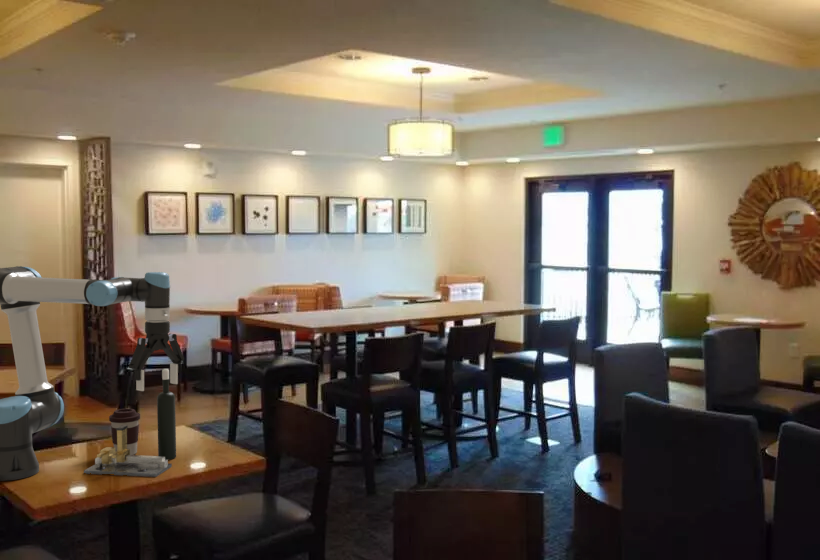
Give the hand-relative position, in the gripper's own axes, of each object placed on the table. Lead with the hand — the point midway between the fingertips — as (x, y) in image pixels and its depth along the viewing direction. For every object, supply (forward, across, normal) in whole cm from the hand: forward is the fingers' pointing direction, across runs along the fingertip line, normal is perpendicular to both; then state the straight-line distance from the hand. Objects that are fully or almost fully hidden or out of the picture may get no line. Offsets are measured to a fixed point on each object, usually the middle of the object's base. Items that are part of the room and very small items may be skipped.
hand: (157, 387), depth 256 cm
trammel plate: (+26, -7, +6) cm, 28 cm away
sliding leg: (+25, -8, +9) cm, 28 cm away
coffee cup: (+27, +5, +22) cm, 35 cm away
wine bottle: (+26, +10, +6) cm, 29 cm away
